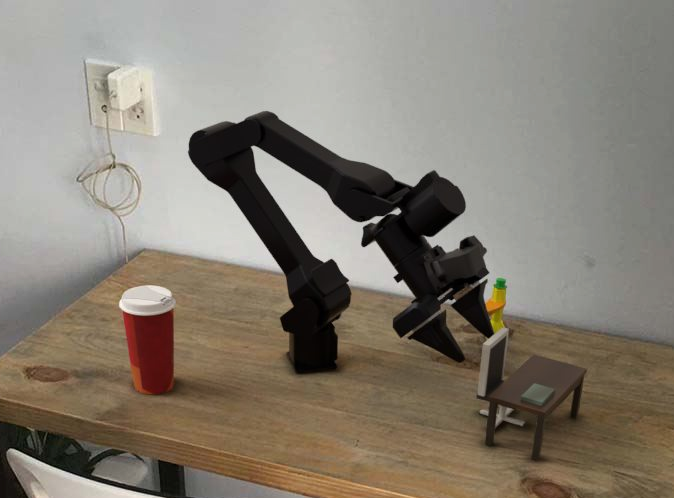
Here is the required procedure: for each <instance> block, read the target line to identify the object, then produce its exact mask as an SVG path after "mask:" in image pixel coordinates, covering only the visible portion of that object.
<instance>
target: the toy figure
mask: <svg viewBox="0 0 674 498" xmlns="http://www.w3.org/2000/svg"><path fill="white" fill-rule="evenodd" d="M506 282H507V279H506V278H503V277H497V278H495V283H494V284H493V285H492V292H491V293H492V294H491V298H489V299H488V300H487V301H485V305H486V308H487V311H488V315H489V316H491V318H490V321H491V324H492V327H493V331H494V334H495V333H496V332H497V331H499V330H500V329H501V328H502V327H504V328H506V325H505V324H504V321H503V320H502V318H503V314H504V309H505V307H506V304H507V300H506V297H507V296H506V295H507V288H508V286H507V285H506ZM485 339H486V341H487V340H488V338H487V337H485Z"/></svg>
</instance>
